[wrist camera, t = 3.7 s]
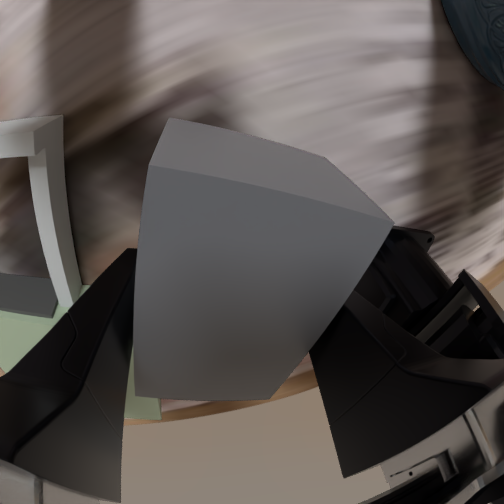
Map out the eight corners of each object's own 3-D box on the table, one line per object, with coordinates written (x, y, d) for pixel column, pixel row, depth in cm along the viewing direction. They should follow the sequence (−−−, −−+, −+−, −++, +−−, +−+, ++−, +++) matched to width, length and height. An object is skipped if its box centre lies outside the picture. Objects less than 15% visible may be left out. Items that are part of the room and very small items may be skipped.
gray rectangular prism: (325, 157, 9) (394, 222, 6) (250, 321, 13) (269, 399, 10) (169, 117, 7) (148, 164, 4) (140, 311, 11) (135, 396, 8)
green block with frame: (159, 114, 11) (128, 161, 6) (160, 388, 25) (163, 448, 20) (-54, 133, 7) (-124, 186, 2) (36, 373, 21) (26, 427, 16)
